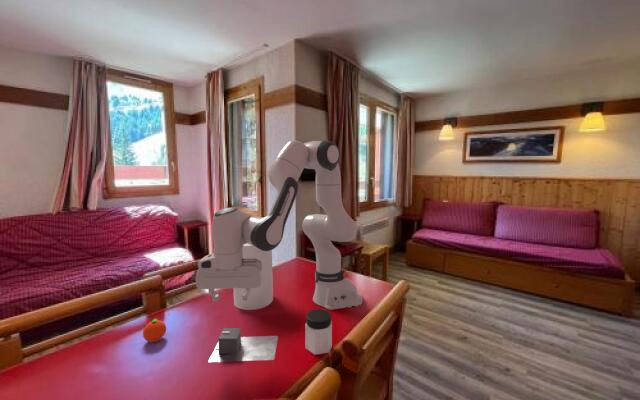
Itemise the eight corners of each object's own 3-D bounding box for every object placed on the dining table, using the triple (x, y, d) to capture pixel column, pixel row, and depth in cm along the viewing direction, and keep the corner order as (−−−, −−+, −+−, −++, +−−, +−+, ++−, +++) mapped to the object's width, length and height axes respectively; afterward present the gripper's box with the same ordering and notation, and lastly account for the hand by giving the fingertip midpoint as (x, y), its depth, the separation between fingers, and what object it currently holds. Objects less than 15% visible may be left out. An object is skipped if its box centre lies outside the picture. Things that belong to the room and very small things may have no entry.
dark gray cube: (240, 342, 92) (241, 327, 91) (236, 353, 86) (236, 337, 86) (224, 342, 91) (224, 326, 91) (218, 353, 86) (218, 337, 85)
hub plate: (278, 338, 96) (278, 327, 95) (274, 363, 84) (273, 350, 83) (220, 340, 95) (219, 328, 94) (208, 365, 83) (207, 352, 82)
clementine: (146, 335, 98) (144, 316, 97) (168, 330, 100) (167, 312, 100) (141, 348, 90) (140, 328, 90) (165, 343, 93) (164, 324, 92)
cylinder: (276, 305, 119) (275, 243, 116) (235, 313, 113) (233, 247, 109) (269, 289, 135) (267, 234, 132) (232, 295, 128) (230, 237, 125)
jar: (307, 359, 85) (307, 323, 84) (303, 343, 93) (303, 310, 92) (335, 355, 87) (335, 320, 86) (328, 339, 95) (328, 307, 94)
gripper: (263, 255, 90) (264, 294, 92) (200, 256, 89) (202, 296, 91) (260, 261, 84) (261, 304, 86) (192, 263, 83) (195, 306, 84)
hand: (230, 300), depth 88 cm, fingers open, 8 cm apart
